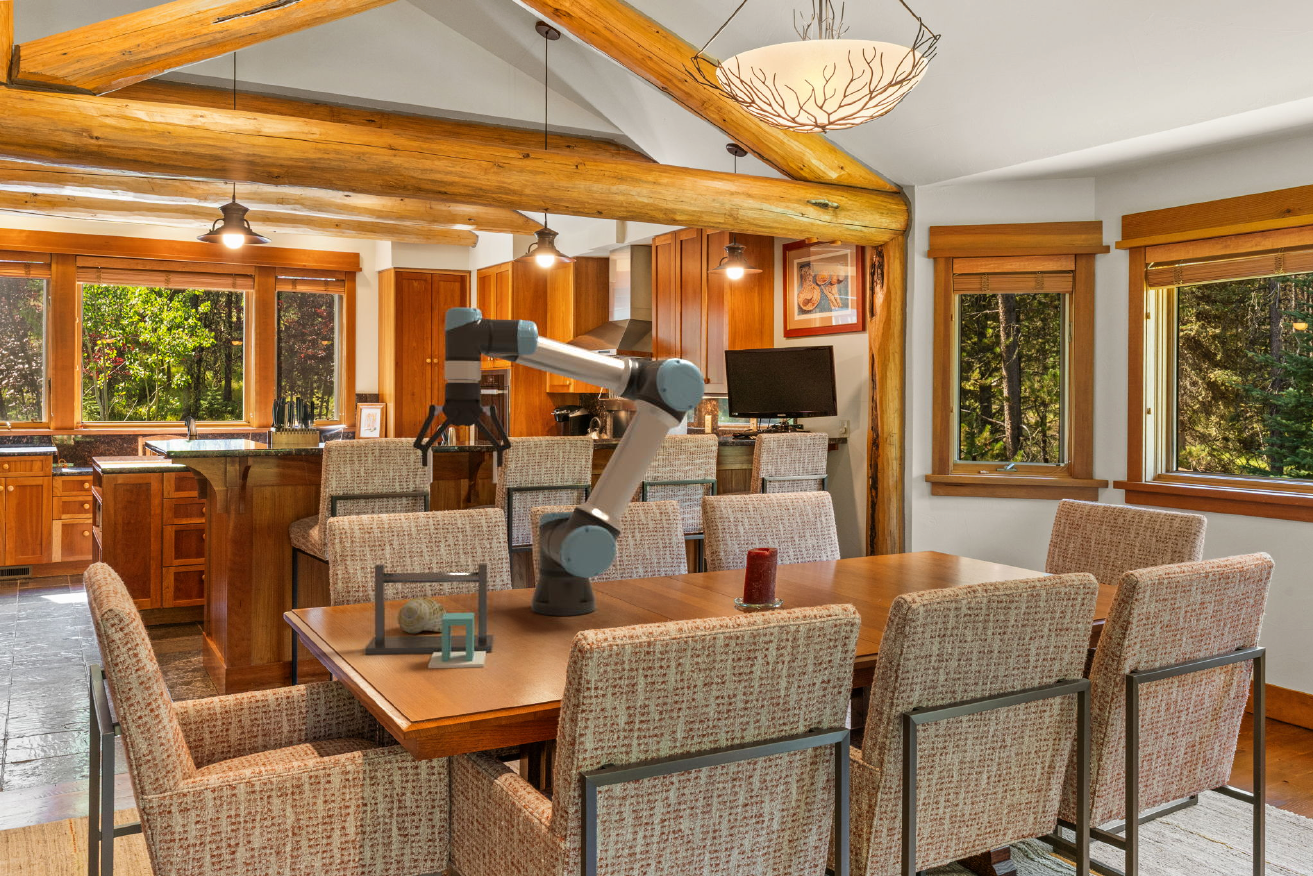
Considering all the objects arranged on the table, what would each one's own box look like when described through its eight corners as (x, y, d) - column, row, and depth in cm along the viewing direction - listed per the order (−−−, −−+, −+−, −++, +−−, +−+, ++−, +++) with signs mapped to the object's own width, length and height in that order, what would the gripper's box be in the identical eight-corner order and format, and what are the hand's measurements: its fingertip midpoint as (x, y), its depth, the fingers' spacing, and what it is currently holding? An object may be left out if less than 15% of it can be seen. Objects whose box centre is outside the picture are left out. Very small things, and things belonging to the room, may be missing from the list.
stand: (493, 640, 199) (494, 560, 199) (491, 652, 190) (491, 567, 190) (373, 642, 196) (373, 561, 196) (365, 654, 188) (365, 569, 187)
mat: (485, 654, 189) (486, 651, 189) (483, 667, 180) (483, 664, 180) (433, 655, 188) (433, 652, 188) (428, 668, 179) (428, 665, 179)
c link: (472, 661, 182) (472, 618, 181) (441, 661, 181) (441, 619, 181) (474, 654, 187) (474, 612, 186) (444, 654, 186) (444, 613, 186)
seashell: (458, 622, 212) (451, 586, 207) (439, 652, 204) (431, 615, 199) (416, 616, 215) (407, 580, 210) (395, 646, 206) (386, 609, 201)
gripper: (523, 382, 210) (522, 481, 211) (404, 381, 207) (404, 480, 208) (522, 382, 202) (521, 484, 203) (399, 380, 199) (399, 484, 200)
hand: (462, 482), depth 206 cm, fingers open, 13 cm apart
